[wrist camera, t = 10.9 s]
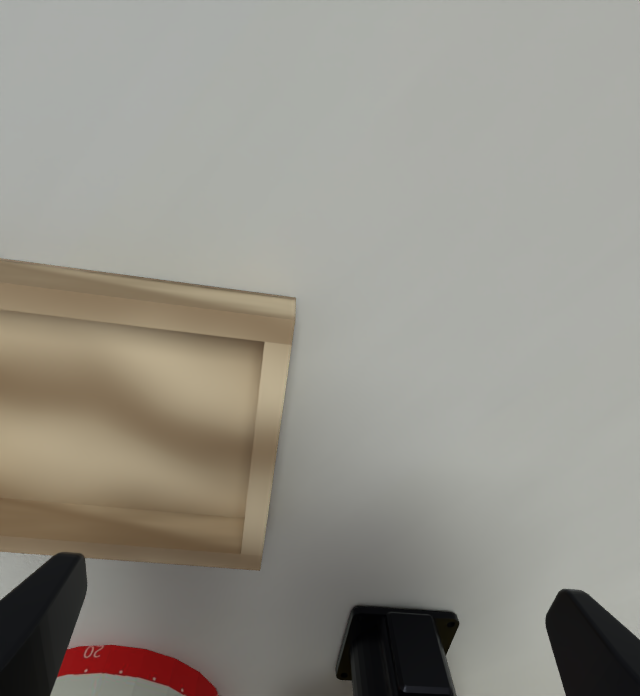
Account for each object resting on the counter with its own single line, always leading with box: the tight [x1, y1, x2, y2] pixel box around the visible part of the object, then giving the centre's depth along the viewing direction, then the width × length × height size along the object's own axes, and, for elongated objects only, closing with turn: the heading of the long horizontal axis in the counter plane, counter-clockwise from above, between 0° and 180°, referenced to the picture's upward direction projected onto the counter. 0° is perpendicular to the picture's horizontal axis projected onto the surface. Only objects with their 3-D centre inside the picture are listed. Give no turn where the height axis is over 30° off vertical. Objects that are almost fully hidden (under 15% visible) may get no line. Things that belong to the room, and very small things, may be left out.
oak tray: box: [0, 258, 296, 571], centre depth 20 cm, size 13×14×2 cm
